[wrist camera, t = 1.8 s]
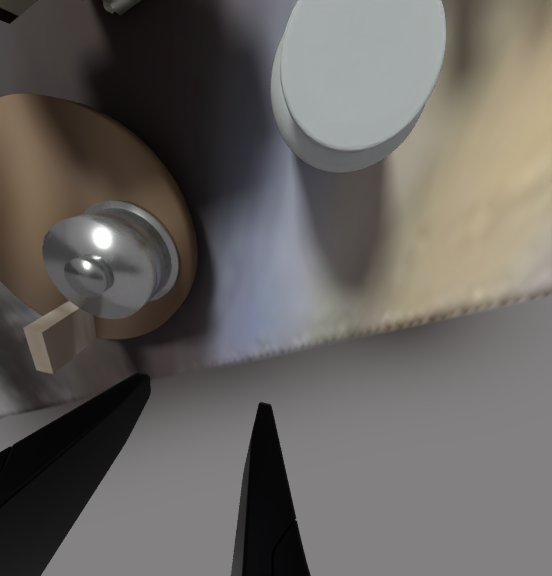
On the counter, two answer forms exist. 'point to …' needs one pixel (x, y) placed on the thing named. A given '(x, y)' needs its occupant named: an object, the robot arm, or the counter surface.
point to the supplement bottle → (355, 77)
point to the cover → (111, 258)
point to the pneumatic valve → (12, 3)
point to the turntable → (77, 214)
